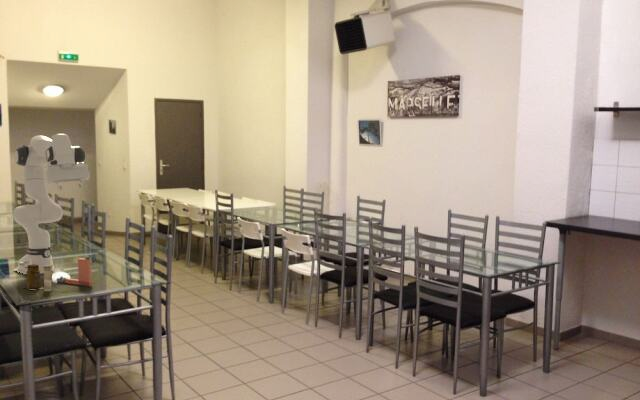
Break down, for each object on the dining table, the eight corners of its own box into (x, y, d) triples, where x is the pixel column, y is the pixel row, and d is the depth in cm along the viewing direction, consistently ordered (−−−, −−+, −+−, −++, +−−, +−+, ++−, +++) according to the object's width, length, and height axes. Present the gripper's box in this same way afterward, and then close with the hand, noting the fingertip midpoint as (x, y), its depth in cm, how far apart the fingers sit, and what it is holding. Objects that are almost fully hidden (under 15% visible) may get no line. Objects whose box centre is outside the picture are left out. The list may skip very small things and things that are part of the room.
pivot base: (54, 282, 306) (54, 277, 306) (61, 280, 310) (61, 275, 310) (61, 284, 304) (61, 278, 304) (68, 281, 309) (68, 276, 308)
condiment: (38, 285, 300) (37, 263, 299) (44, 288, 294) (44, 266, 293) (23, 288, 295) (22, 265, 293) (29, 291, 289) (29, 268, 288)
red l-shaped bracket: (65, 283, 305) (64, 254, 304) (67, 282, 307) (67, 253, 305) (89, 286, 300) (88, 257, 298) (91, 285, 302) (91, 256, 300)
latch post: (45, 289, 293) (44, 264, 292) (53, 289, 294) (52, 264, 292) (43, 291, 290) (42, 266, 288) (51, 291, 290) (50, 266, 289)
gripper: (86, 164, 296) (91, 189, 293) (42, 167, 284) (47, 193, 281) (88, 159, 291) (93, 184, 287) (44, 162, 279) (49, 188, 276)
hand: (70, 189), depth 284 cm, fingers open, 8 cm apart
